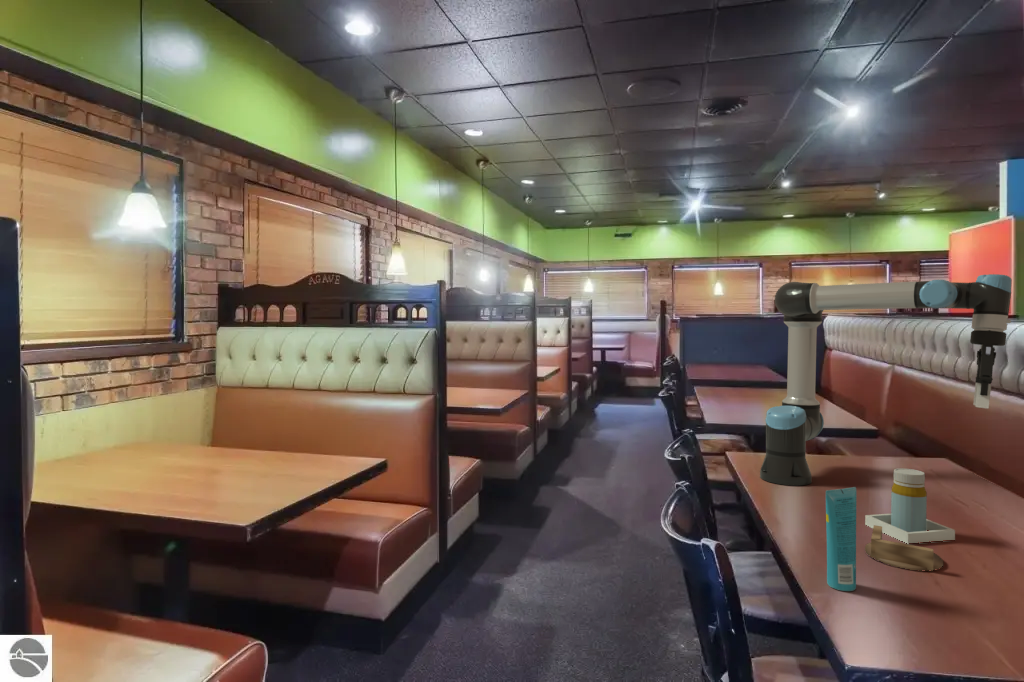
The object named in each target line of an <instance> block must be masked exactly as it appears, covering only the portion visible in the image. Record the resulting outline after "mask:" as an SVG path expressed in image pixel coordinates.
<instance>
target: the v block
mask: <svg viewBox="0 0 1024 682" xmlns="http://www.w3.org/2000/svg"><path fill="white" fill-rule="evenodd" d="M865 551H866V553H867V554H868V555H870V556H871V557H873V558H875V559H876V560H879V561H881V562H883V563H885V564H884V565H886V564H889V565H891V566H890V567H892V566H895V567H894V568H896V567H900V568H905V569H910V570H909V571H911V570H919V571H918V572H922V570H925V571H928V572H934V571H933V570H935V569H939V568H941V567H942V566H943V567H944V560H943V558H942V557H941V556H940V555H938V554H937V553H935V552H934V548H929V547H925V546H924V547H923V546H918V545H915V544H906V543H904V542H897V541H893V540H891V541H890V540H885V539H883V533H882V526H876V525H874V527H873V528H872V534H871V537H870V542H869V543H866V544H865V546H864V552H865ZM866 553H865V554H866ZM867 554H866V555H867ZM868 555H867V556H868ZM871 557H870V558H871ZM876 560H875V561H876ZM883 563H882V564H883ZM889 565H888V566H889ZM943 567H942V568H943ZM900 568H899V569H900ZM942 568H941V569H942ZM905 569H904V570H905ZM929 570H931V571H929Z"/></svg>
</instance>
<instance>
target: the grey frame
mask: <svg viewBox="0 0 1024 682" xmlns="http://www.w3.org/2000/svg"><path fill="white" fill-rule="evenodd" d="M864 517H865V520H864V523H865V524H864V525H865V526H866V525H867V526H866V527H868V526H869V527H868V528H871V529H873V527H874V525H876V526H882V534H884V533H885V534H884V535H886V534H887V535H886V536H888V535H889V536H888V537H890V536H891V538H893V537H894V538H893V539H895V538H896V539H895V540H897V539H898V540H897V541H899V540H900V541H899V542H901V541H903V542H902V543H904V542H905V543H904V544H906V543H907V544H909V543H918V542H919V544H921V543H920V542H929V541H930V542H931V541H943V540H955V541H956V529H954V528H951V527H949V526H946V525H943V524H941V523H938V522H936V521H934V520H930V519H927V518H926V531H918V532H906V531H904V530H902V529H899V528H897V527H895V526H892V525H891V513H882V514H881V513H880V514H879V513H878V514H866V515H864ZM927 530H929V531H927ZM943 542H944V541H943ZM931 543H932V542H931ZM909 545H910V544H909Z"/></svg>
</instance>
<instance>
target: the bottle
mask: <svg viewBox="0 0 1024 682" xmlns="http://www.w3.org/2000/svg"><path fill="white" fill-rule="evenodd" d="M925 476H926V475H925V472H924V471H921V470H917V469H912V468H903V467H902V468H895V469H893V484H892V485H891V486H892V487H891V492H890V493H891V496H890V497H891V500H890V503H891V504H890V506H891V507H890V512H891V513H890V514H891V524H890V525H892V526H895V527H897V528H899V529H902V530H904V531H906V532H918V531H927V530H926V519H927V510H928V509H927V505H928V504H927V500H928V499H927V495H928V494H927V491H926V488H925V485H926V484H925V482H926V477H925Z"/></svg>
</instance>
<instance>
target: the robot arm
mask: <svg viewBox="0 0 1024 682" xmlns="http://www.w3.org/2000/svg"><path fill="white" fill-rule="evenodd" d="M1011 299H1012V278H1011V277H1010V276H1009V275H1005V274H994V273H993V274H980V275H978V276H977V277H976V280H975V281H972V282H957V281H956V282H951V281H948V280H946V279H933V280H922V281H920V280H919V281H899V282H898V281H896V282H879V283H878V282H877V283H876V282H875V283H858V284H857V283H855V284H837V285H836V284H834V285H833V284H832V285H830V284H829V285H819V284H818V283H817V282H801V281H789V282H786V283H785V284H783V285H782V286H780V287H779V288H778V289H777V291H776V292H775V294H774V305H775V307H776V309H777V311H778V312H779V313H781V314H782V315H783V323H784V324H785V325H786V326H787V327H788V329H787V330H788V332H787V333H788V335H787V336H788V337H787V339H788V340H787V343H788V344H787V381H786V383H787V384H786V385H787V386H786V391H787V392H786V397H784V398H783V399H781V400H782V401H781V405H779V406H777V405H775V406H772V407H770V408H768V410H767V411H766V414H765V415H766V416H765V456H764V458H763V462H762V464H761V468H760V471H759V478H760V479H761V480H764V481H765V482H768V483H772V484H777V485H784V486H807V485H810V484H812V479H813V477H812V473H811V468H810V467H809V464H808V461H807V459H806V451H807V450H806V445H807V444H806V442H807V441H812V440H814V439H815V438H816V437H818V435H819V434H820V433H821V432H822V430H823V428H824V424H825V420H824V417H823V415H822V414H823V413H821V403H820V401H819V400H818V399H817V398H816V379H817V378H816V377H817V375H816V372H817V335H818V334H817V332H818V331H817V330H818V327H819V326H820V325H821V324H822V322H823V312H824V311H839V310H845V311H846V310H847V311H848V310H849V311H851V310H889V309H890V310H891V309H894V310H895V309H957V310H958V309H960V310H962V309H964V310H965V309H966V310H973V313H972V318H971V327H970V328H972V331H971V332H970V339H969V340H970V341H969V343H970V344H972V345H978V346H979V345H980V348H979V350H977V352H976V365H977V370H976V376H975V386H974V395H973V403H972V404H973V406H974V407H975V408H980V409H981V408H982V409H990V408H989V407H990V400H991V391H992V390H991V389H992V383H993V373H994V372H993V369H994V366H995V362H996V361H995V359H996V357H997V351H996V348H995V347H1004V346H1006V344H1007V343H1006V342H1007V333H1006V332H1005V331H1007V330H1008V329H1007V328H1008V324H1010V323H1011V324H1012V321H1011V319H1009V315H1010V314H1009V313H1010V305H1011Z"/></svg>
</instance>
